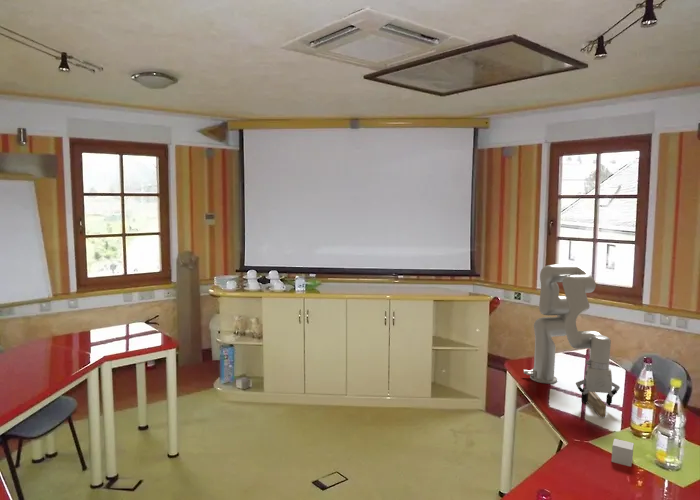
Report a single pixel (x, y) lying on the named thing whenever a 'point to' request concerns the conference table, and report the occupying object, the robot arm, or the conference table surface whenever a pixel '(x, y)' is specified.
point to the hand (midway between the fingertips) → (596, 403)
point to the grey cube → (622, 452)
